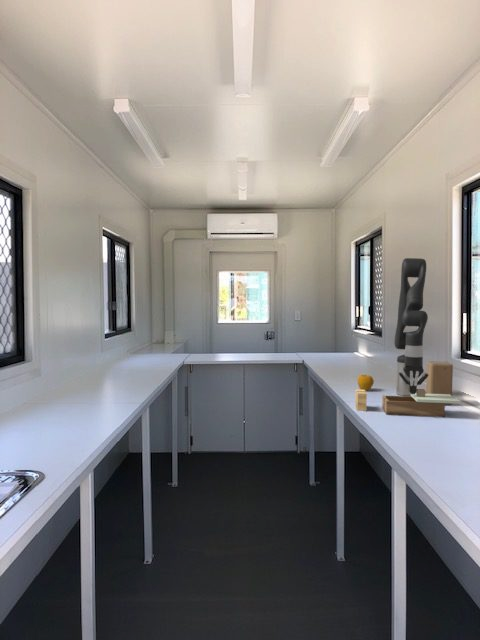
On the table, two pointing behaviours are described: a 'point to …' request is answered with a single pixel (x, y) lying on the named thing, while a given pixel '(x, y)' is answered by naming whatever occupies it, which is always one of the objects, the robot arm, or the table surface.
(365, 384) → the apple
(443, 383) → the wooden block
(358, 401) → the key
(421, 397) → the lid
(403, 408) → the wooden box
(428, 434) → the table surface
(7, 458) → the table surface
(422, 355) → the robot arm
